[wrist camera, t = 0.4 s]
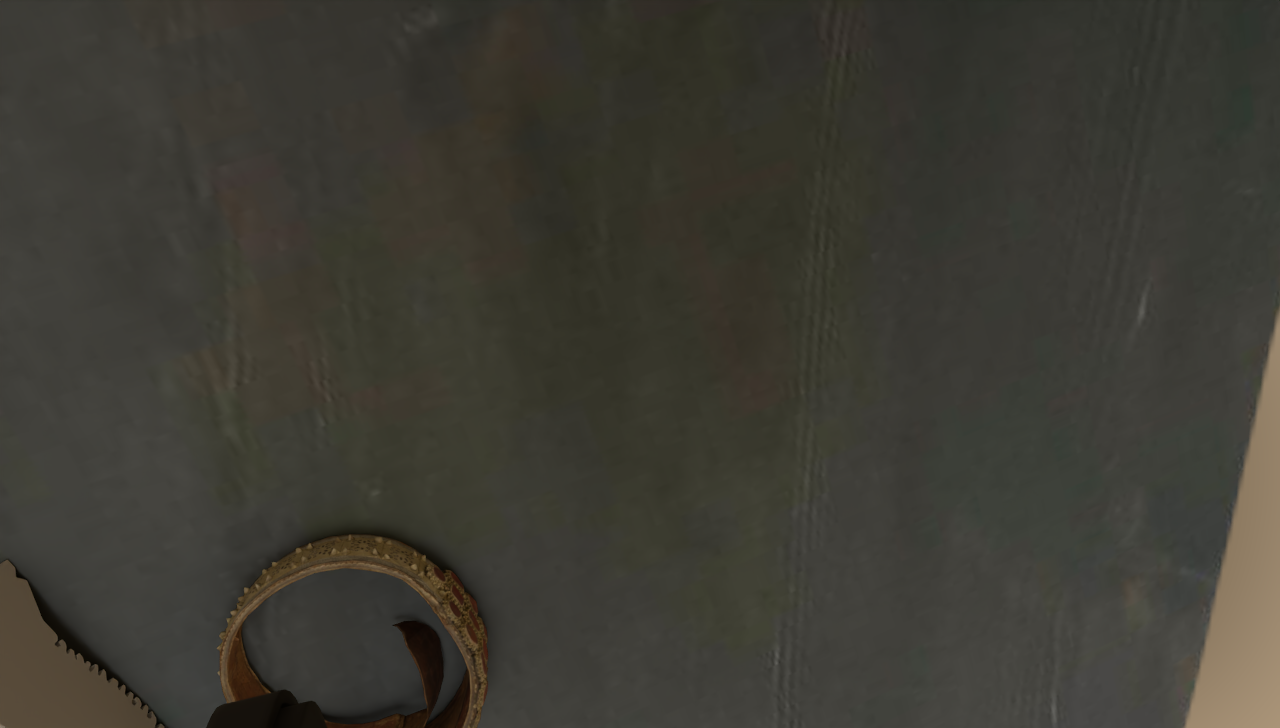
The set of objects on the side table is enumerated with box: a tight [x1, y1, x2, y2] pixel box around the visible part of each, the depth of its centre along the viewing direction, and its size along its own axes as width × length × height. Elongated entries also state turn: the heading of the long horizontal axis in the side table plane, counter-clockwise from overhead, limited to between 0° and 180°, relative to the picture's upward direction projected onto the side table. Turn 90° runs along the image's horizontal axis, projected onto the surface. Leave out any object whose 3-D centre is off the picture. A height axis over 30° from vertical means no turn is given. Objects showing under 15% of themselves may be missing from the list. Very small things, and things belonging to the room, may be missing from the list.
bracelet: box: [217, 534, 488, 728], centre depth 31 cm, size 9×9×3 cm
